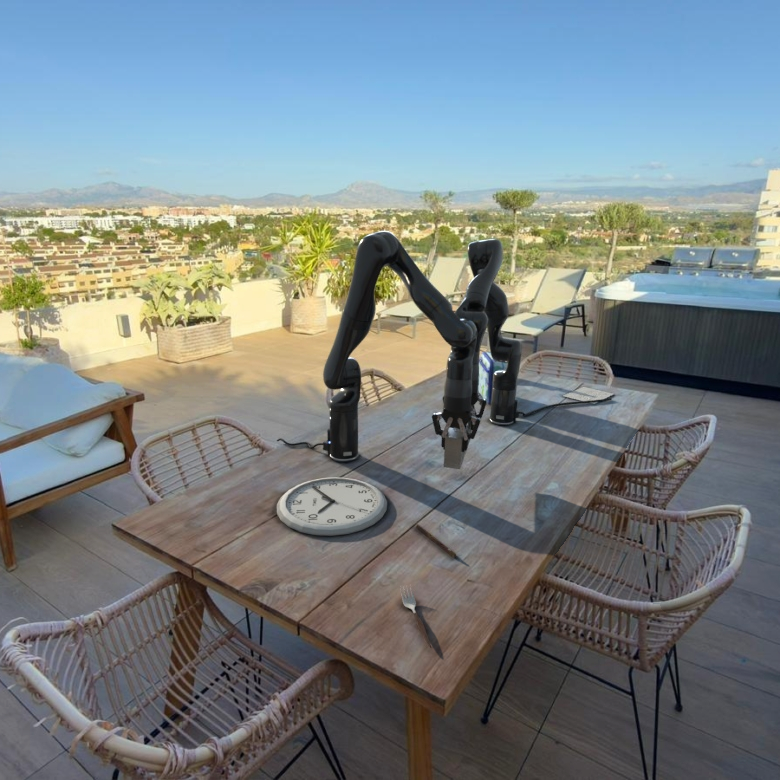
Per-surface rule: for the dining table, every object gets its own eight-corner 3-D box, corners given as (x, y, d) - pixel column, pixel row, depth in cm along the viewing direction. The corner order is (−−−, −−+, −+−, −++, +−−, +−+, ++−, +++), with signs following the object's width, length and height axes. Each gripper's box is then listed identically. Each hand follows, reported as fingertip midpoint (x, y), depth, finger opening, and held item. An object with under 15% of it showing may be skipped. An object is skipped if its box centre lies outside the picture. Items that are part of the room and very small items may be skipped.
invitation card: (583, 386, 254) (614, 393, 243) (583, 387, 254) (614, 394, 244) (562, 395, 239) (594, 403, 229) (562, 396, 239) (594, 404, 229)
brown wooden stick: (415, 527, 132) (415, 524, 132) (417, 527, 133) (417, 523, 132) (454, 558, 121) (454, 554, 120) (455, 557, 121) (456, 553, 121)
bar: (455, 437, 168) (457, 410, 166) (470, 439, 167) (472, 412, 164) (443, 467, 147) (445, 437, 145) (460, 469, 146) (462, 439, 143)
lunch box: (475, 390, 246) (478, 346, 240) (498, 390, 246) (501, 347, 240) (484, 408, 221) (487, 360, 215) (509, 409, 221) (513, 360, 215)
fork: (423, 651, 94) (424, 642, 93) (398, 593, 109) (398, 585, 108) (437, 648, 95) (437, 639, 94) (410, 591, 109) (411, 583, 109)
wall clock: (392, 527, 129) (268, 531, 127) (391, 533, 130) (269, 537, 127) (383, 473, 158) (282, 475, 155) (383, 478, 158) (282, 480, 156)
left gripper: (429, 394, 141) (426, 451, 147) (482, 399, 138) (478, 458, 143) (434, 386, 148) (432, 441, 153) (485, 391, 145) (481, 448, 150)
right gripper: (440, 377, 157) (438, 430, 162) (488, 381, 153) (484, 435, 158) (445, 371, 164) (442, 421, 169) (491, 375, 160) (487, 426, 165)
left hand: (454, 449), depth 148 cm, fingers closed on bar, 4 cm apart
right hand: (463, 428), depth 164 cm, fingers open, 5 cm apart
